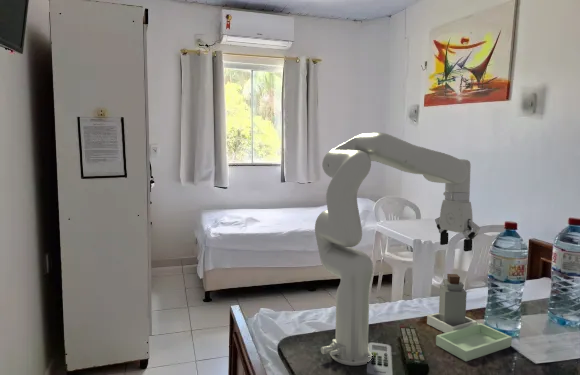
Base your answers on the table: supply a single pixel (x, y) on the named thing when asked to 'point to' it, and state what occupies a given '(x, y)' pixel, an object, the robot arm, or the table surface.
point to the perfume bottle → (452, 301)
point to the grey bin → (444, 327)
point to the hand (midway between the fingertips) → (455, 247)
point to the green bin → (473, 341)
